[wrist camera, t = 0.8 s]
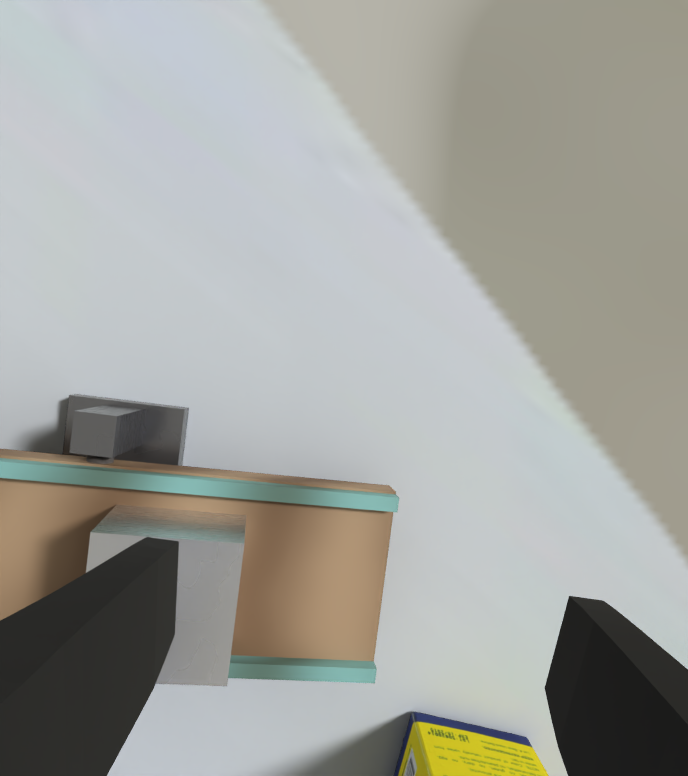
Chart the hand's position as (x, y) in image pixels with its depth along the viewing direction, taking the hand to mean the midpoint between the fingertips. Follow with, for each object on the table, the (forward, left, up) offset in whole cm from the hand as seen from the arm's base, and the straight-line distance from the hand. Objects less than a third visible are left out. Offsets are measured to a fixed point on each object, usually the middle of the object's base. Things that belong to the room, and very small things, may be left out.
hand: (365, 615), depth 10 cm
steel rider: (-4, +6, -12) cm, 14 cm away
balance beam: (-4, +9, -13) cm, 16 cm away
